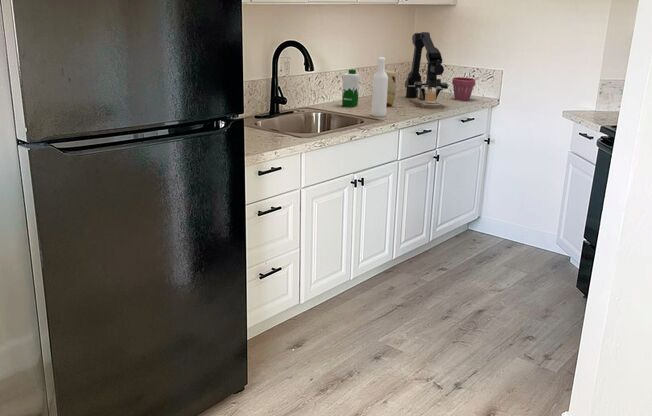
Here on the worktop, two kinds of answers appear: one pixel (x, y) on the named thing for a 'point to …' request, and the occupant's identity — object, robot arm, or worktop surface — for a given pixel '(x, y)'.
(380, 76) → the bottle
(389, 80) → the food model
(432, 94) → the orange tan square block
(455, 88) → the plant pot
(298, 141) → the worktop surface
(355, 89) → the milk carton
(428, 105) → the post board
